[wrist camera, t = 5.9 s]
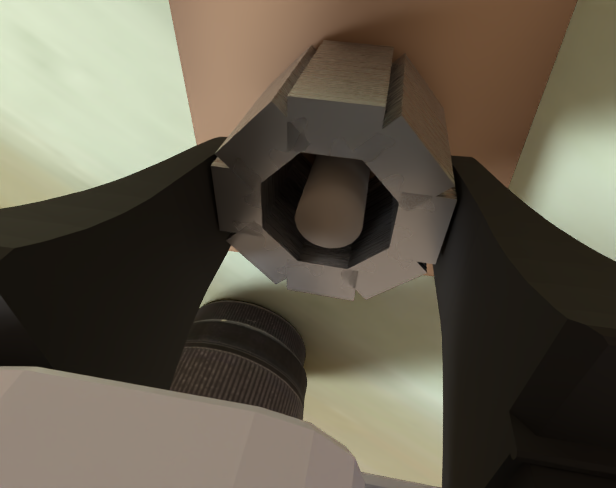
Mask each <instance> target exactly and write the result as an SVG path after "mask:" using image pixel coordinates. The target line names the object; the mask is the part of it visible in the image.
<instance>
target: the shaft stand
mask: <svg viewBox="0 0 616 488" xmlns="http://www.w3.org/2000/svg"><path fill="white" fill-rule="evenodd" d="M576 3H577V0H169V4H170V10H171V15H172V20H173V25H174V30H175V35H176V40H177V46H178V51H179V56H180V61H181V66H182V71H183V76H184V81H185V87H186V92H187V97H188V102H189V107H190V112H191V117H192V123H193V128H194V133H195V138H196V143H197V145H199V144H201V143H203V142H206V141H208V140H211V139H213V138H217V137H228V136H229V135H230V134H231V132H232V131H233V130H234V129H235V127H236V126H237V125H238V124H239V122H240V121H241V120H242V119H243V117H244V116H245V115H246V114H247V112H248V111H249V110H250V108H251V107H252V106H253V105H254V103H255V102H256V101H257V100H258V98H259V97H260V96H261V95H262V93H263V92H264V91H265V90H266V88H267V87H268V86H269V85H270V84H271V83H272V82H273V81H275V80H276V79H277V78H278V77H279V76H280V75H281V74H282V73H283V72H284V71H285V70H286V69H287V68H288V67H289V66H290V65H291V64H292V63H293V62H294V61H295V60H296V59H297V58H298V57H299V56H300V55H301V54H302V53H303V52H305V51H306V50H307V49H308V48H309V47H310V46H311V45H313V46H314V47H315V49H316V50H318V48H319V47H320V45H321V43H322V42H323V40H328V41H339V42H350V43H361V44H372V45H383V46H393V47H394V50H393V58H392V63H393V62H395V61H396V60H397V59H398V58H400V57H401V56H402V55H403V54H404V53H406V55H407V56H408V58H409V59H410V61H411V62H412V63H413V65H414V66H415V68H416V69H417V71H418V72H419V73H420V75H421V76H422V78H423V79H424V80H425V82H426V83H427V85H428V86H429V88H430V89H431V90H432V92H433V93H434V95H435V96H436V98H437V99H438V100H439V102H440V103H441V105H442V106H443V108H444V114H445V119H446V126H447V133H448V140H449V146H450V153H451V155H452V156H465V157H473V158H474V159H476V160H477V161H478V162H479V163H480V164H482V165H483V166H484V167H485V168H486V169H487V170H488V171H489V172H490V173H491V174H492V175H494V176H495V177H496V178H497V179H498V180H499V181H500V182H501V183H502V184H503V185H504V186H505V187H507V188H508V187H509V184H510V181H511V179H512V176H513V173H514V171H515V168H516V165H517V163H518V160H519V157H520V154H521V152H522V149H523V146H524V144H525V141H526V138H527V136H528V133H529V130H530V127H531V125H532V122H533V119H534V117H535V114H536V111H537V109H538V106H539V103H540V100H541V98H542V95H543V92H544V90H545V87H546V84H547V81H548V79H549V76H550V73H551V71H552V68H553V65H554V63H555V60H556V57H557V54H558V52H559V49H560V46H561V44H562V41H563V38H564V36H565V33H566V30H567V27H568V25H569V22H570V19H571V17H572V14H573V11H574V9H575V6H576ZM300 153H301V154H302V155H303V156H304V157H305V158H306V159H307V160H308V161H309V162H310V164H311V165H312V168H311V171H310V174H309V176H308V179H307V182H306V185H305V187H304V190H303V193H302V196H301V198H300V201H299V204H298V207H297V209H296V213H295V223H296V226H297V228H298V230H299V232H300V233H301V234H302V236H303V237H304V238H306V239H307V240H308V241H310V242H311V243H313V244H315V245H318V246H321V247H325V248H340V247H344V246H347V245H349V244H351V243H352V242H354V241H355V240H356V239H357V238H358V236H359V235H360V233H361V231H362V227H363V220H364V213H365V206H366V198H367V191H368V183H369V180H370V179H371V178H373V177H374V176H376V175H375V174H374V173H373V172H372V171H371V169H370V168H369V167H368V166H367V165H366V164H365V162H364V161H363V160H358V159H350V158H343V157H335V156H327V155H319V154H312V153H304V152H300ZM228 251H234V252H238V251H237V250H236V249H235V248H234V247H233V246H231V247H230V249H229V250H228ZM423 275H428V276H434V272H433V264H429V263H427V273H426V274H423Z"/></svg>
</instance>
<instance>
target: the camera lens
mask: <svg viewBox="0 0 616 488" xmlns="http://www.w3.org/2000/svg"><path fill="white" fill-rule="evenodd" d="M305 355H306V353H305V346H304V343H303V341H302V338H301V336H300V335H299V334H298V332H297V331H296V330H295V329H294V327H293V326H292V325H291V324H290V323H288V322H287V321H286V320H284V319H283V318H282V317H280V316H279V315H277V314H275V313H273V312H271V311H269V310H267V309H265V308H263V307H260V306H257V305H254V304H250V303H246V302H240V301H217V302H212V303H209V304H207V305H204V306H202V307H201V308H199V310H198V312H197V315H196V317H195V320H194V322H193V325H192V327H191V330H190V332H189V335H188V338H187V341H186V343H185V346H184V349H183V352H182V355H181V357H180V360H179V363H178V366H177V369H176V372H175V375H174V378H173V381H172V384H171V387H170V390H169V391H175V392H180V393H186V394H191V395H197V396H202V397H208V398H214V399H219V400H225V401H230V402H236V403H241V404H247V405H252V406H258V407H262V408H265V409H268V410H271V411H275V412H278V413H281V414H284V415H287V416H290V417H294V418H297V419H300V420H303V410H304V398H305V393H306V387H307V377H306V373H305V370H304V368H303V366H304V361H305Z"/></svg>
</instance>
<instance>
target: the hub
mask: <svg viewBox="0 0 616 488" xmlns="http://www.w3.org/2000/svg"><path fill="white" fill-rule="evenodd" d="M393 50H394V47H393V46H383V45H372V44H361V43H350V42H339V41H328V40H323V42H322V43H321V45H320V47H319V48H318V50H316V49H315V47H314V46H313V45H311V46H310V47H309V48H308V49H307V50H306V51H305V52H303V53H302V54H301V55H300V56H299V57H298V58H297V59H296V60H295V61H294V62H293V63H292V64H291V65H290V66H289V67H288V68H287V69H286V70H285V71H284V72H283V73H282V74H281V75H280V76H279V77H278V78H277V79H276V80H275V81H273V82H272V83H271V84H270V85H269V86H268V87H267V88H266V90H265V91H264V92H263V93H262V95H261V96H260V97H259V98H258V100H257V101H256V102H255V103H254V105H253V106H252V107H251V108H250V110H249V111H248V112H247V114H246V115H245V116H244V117H243V119H242V120H241V121H240V122H239V124H238V125H237V126H236V127H235V129H234V130H233V131H232V132H231V134H230V135H229V136H228V137H227V139H226V140H225V141H224V143H223V144H222V145H221V146H220V148H219V149H218V150H217V151H216V153H215V155H216V156H217V158H216V160H215V161H214V162H213V163H212V165H211V171H212V178H213V186H214V193H215V200H216V207H217V214H218V222H219V229H220V231H227V232H230V234H229V236H228V237H227V239H226V241H227V242H228V243H229V244H230V245H231V246H233V247H234V248H235V249H236V250H237V251H238V252H239V253H241V254H242V255H243V256H244V257H245V258H246V259H248V260H249V261H250V262H251V263H252V264H253V265H254V266H256V267H257V268H258V269H259V270H260V271H261V272H262V273H264V274H265V275H266V276H267V277H268V278H269V279H271V280H272V281H273V282H274V283H275V284H277V283H279V282H281V281H283V280H285V279H286V278H287V289H288V290H294V291H300V292H305V293H311V294H317V295H323V296H328V297H334V298H340V299H346V300H351V301H354V296H355V290H356V291H357V292H358V293H359V294H360V295H361V296H362V297H364V298H365V299H369V298H371V297H373V296H375V295H378V294H380V293H382V292H385V291H387V290H389V289H391V288H394V287H396V286H398V285H401V284H403V283H405V282H407V281H410V280H412V279H414V278H417V277H419V276H421V275H423V274H426V273H427V263H429V264H436V261H437V258H438V255H439V253H440V250H441V247H442V244H443V241H444V238H445V235H446V232H447V229H448V226H449V223H450V220H451V217H452V214H453V211H454V208H455V205H456V202H457V194H456V187H455V180H454V174H453V168H452V161H451V153H450V146H449V140H448V133H447V126H446V119H445V114H444V108H443V106H442V105H441V103H440V102H439V100H438V99H437V98H436V96H435V95H434V93H433V92H432V90H431V89H430V88H429V86H428V85H427V83H426V82H425V80H424V79H423V78H422V76H421V75H420V73H419V72H418V71H417V69H416V68H415V66H414V65H413V63H412V62H411V61H410V59H409V58H408V56H407V55H406V53H404V54H403V55H402V56H401V57H400V58H398V59H397V60H396V61H395V62H393V63H392V58H393ZM300 152H304V153H312V154H319V155H327V156H335V157H343V158H350V159H358V160H363V161H364V162H365V164H366V165H367V166H368V167H369V168H370V169H371V171H372V172H373V173H374V174H375V175H376V176H374V177H373V178H371V179H370V180H369V183H368V191H367V198H366V206H365V213H364V220H363V227H362V231H361V233H360V235H359V236H358V238H357V239H356V240H355V241H354V242H352V243H351V244H349V245H347V246H344V247H340V248H325V247H321V246H318V245H315V244H313V243H311V242H310V241H308V240H307V239H306V238H304V237H303V236H302V234H301V233H300V232H299V230H298V228H297V226H296V223H295V213H296V209H297V207H298V204H299V201H300V198H301V196H302V193H303V190H304V187H305V185H306V182H307V179H308V176H309V174H310V171H311V168H312V165H311V164H310V162H309V161H308V160H307V159H306V158H305V157H304V156H303V155H302V154H301V153H300Z"/></svg>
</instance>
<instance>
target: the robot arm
mask: <svg viewBox="0 0 616 488" xmlns="http://www.w3.org/2000/svg"><path fill="white" fill-rule="evenodd" d="M226 139H227V137H217V138H213V139H211V140H208V141H206V142H203V143H201V144H199V145H197V146H194V147H192V148H190V149H188V150H186V151H184V152H182V153H179V154H177V155H175V156H173V157H171V158H169V159H167V160H165V161H162V162H160V163H158V164H155V165H153V166H151V167H148V168H146V169H144V170H141V171H139V172H136V173H134V174H132V175H129V176H127V177H124V178H121V179H119V180H116V181H113V182H110V183H107V184H104V185H101V186H98V187H94V188H91V189H88V190H85V191H81V192H77V193H73V194H69V195H65V196H61V197H57V198H53V199H49V200H45V201H41V202H36V203H31V204H26V205H20V206H15V207H9V208H3V209H0V488H440V487H435V486H430V485H425V484H420V483H415V482H410V481H405V480H400V479H394V478H389V477H384V476H379V475H374V474H369V473H364V472H361V471H360V469H359V466H358V464H357V462H356V459H355V457H354V456H353V455H352V453H351V452H350V451H349V450H348V448H347V447H346V446H344V445H343V444H341V443H340V442H338V441H337V440H335V439H334V438H332V437H331V436H329V435H328V434H326V433H325V432H323V431H322V430H321V429H319V428H318V427H316V426H315V425H313V424H312V423H310V422H306V421H303V420H300V419H297V418H294V417H290V416H287V415H284V414H281V413H278V412H275V411H271V410H268V409H265V408H262V407H258V406H252V405H247V404H241V403H236V402H230V401H225V400H219V399H214V398H208V397H202V396H197V395H191V394H186V393H180V392H175V391H169V390H170V387H171V384H172V381H173V378H174V375H175V372H176V369H177V366H178V363H179V360H180V357H181V355H182V352H183V349H184V346H185V343H186V341H187V338H188V335H189V332H190V330H191V327H192V325H193V322H194V320H195V317H196V315H197V312H198V310H199V307H200V304H201V302H202V300H203V298H204V296H205V294H206V291H207V289H208V287H209V286H210V284H211V282H212V280H213V278H214V276H215V274H216V273H217V271H218V269H219V267H220V265H221V263H222V262H223V260H224V258H225V256H226V254H227V252H228V250H229V249H230V247H231V245H230V244H229V243H228V242H227V241H226V239H227V237H228V236H229V234H230V232H227V231H220V229H219V222H218V214H217V207H216V200H215V193H214V186H213V178H212V171H211V165H212V163H213V162H214V161H215V160H216V158H217V156H216V155H215V153H216V151H217V150H218V149H219V148H220V146H221V145H222V144H223V143H224V141H225V140H226ZM451 161H452V168H453V174H454V180H455V187H456V194H457V202H456V205H455V208H454V211H453V214H452V217H451V220H450V223H449V226H448V229H447V232H446V235H445V238H444V241H443V244H442V247H441V250H440V253H439V255H438V258H437V261H436V264H433V272H434V279H435V286H436V293H437V300H438V307H439V313H440V320H441V331H442V355H443V469H442V488H616V262H615V261H613V260H612V259H610V258H608V257H606V256H604V255H602V254H600V253H598V252H596V251H595V250H593V249H591V248H589V247H588V246H586V245H584V244H583V243H581V242H579V241H578V240H576V239H575V238H573V237H572V236H570V235H568V234H567V233H565V232H564V231H562V230H560V229H559V228H557V227H556V226H555V225H553V224H552V223H550V222H549V221H547V220H546V219H545V218H543V217H542V216H541V215H539V214H538V213H537V212H536V211H534V210H533V209H532V208H530V207H529V206H528V205H526V204H525V203H524V202H523V201H522V200H520V199H519V198H518V197H517V196H516V195H515V194H513V193H512V192H511V191H510V190H509V189H508V188H507V187H505V186H504V185H503V184H502V183H501V182H500V181H499V180H498V179H497V178H496V177H495V176H494V175H492V174H491V173H490V172H489V171H488V170H487V169H486V168H485V167H484V166H483V165H482V164H480V163H479V162H478V161H477V160H476V159H474V158H473V157H465V156H452V155H451Z"/></svg>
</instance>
